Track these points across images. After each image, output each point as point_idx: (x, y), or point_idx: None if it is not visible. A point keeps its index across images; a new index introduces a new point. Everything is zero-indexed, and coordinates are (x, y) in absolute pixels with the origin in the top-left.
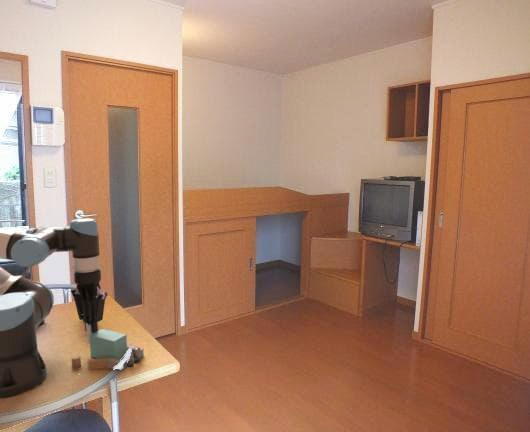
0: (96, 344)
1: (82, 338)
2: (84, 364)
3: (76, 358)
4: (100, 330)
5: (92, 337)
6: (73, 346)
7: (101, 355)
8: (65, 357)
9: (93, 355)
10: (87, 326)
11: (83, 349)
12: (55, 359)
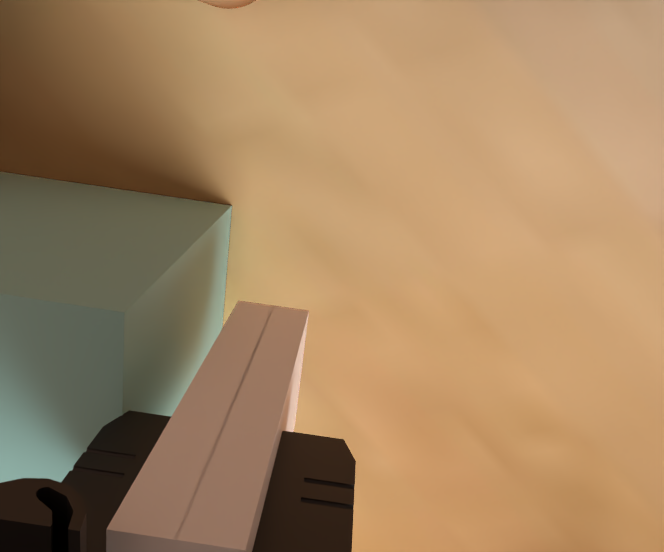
0: (30, 239)
1: (641, 533)
2: (159, 16)
3: None
4: None
5: (55, 287)
6: (622, 359)
7: (26, 190)
8: (532, 98)
9: (180, 205)
10: (203, 484)
11: (447, 328)
12: (634, 9)
